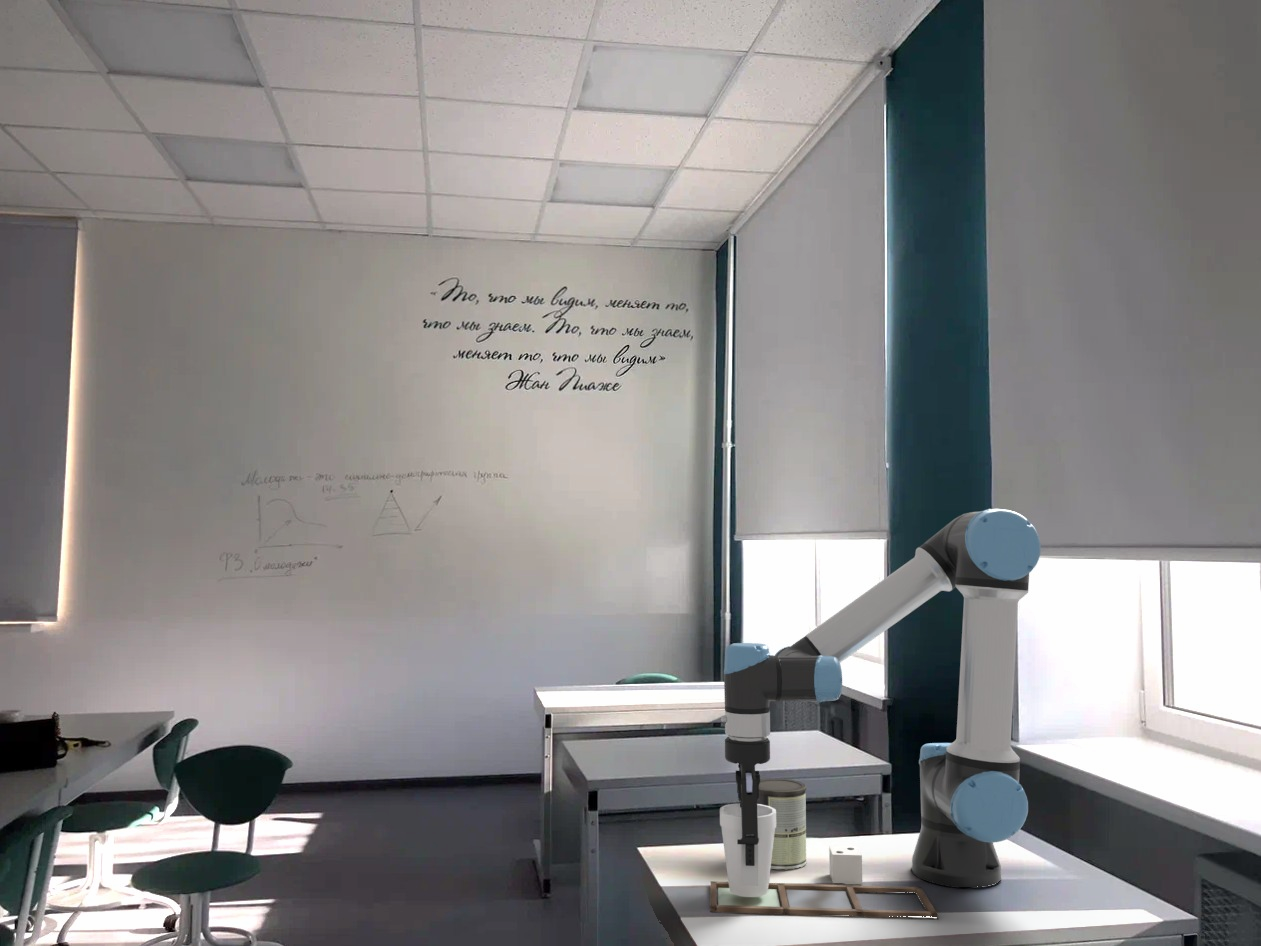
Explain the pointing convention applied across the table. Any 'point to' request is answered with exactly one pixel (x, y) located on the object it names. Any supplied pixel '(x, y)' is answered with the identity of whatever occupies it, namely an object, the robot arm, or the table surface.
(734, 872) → the foam cup
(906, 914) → the walnut frame
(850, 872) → the white die
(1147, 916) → the table surface
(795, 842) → the coffee can
